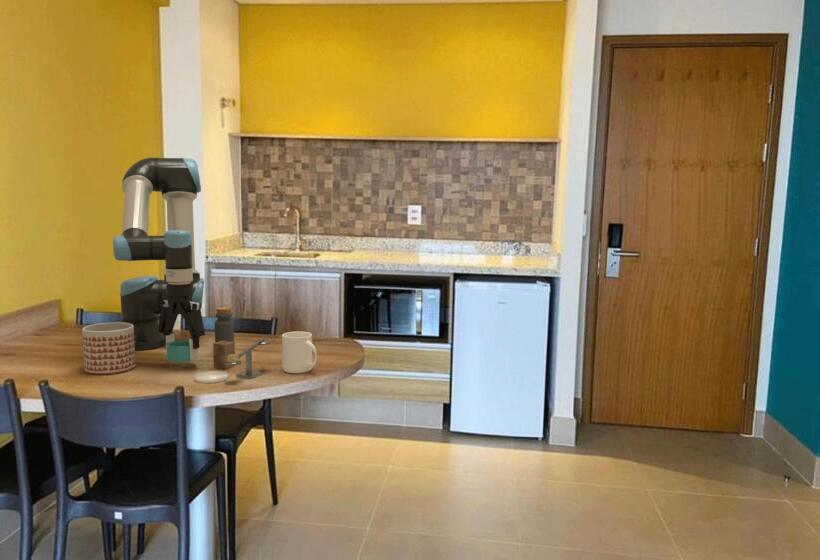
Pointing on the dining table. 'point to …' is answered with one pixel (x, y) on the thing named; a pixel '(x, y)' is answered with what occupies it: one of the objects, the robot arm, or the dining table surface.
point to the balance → (234, 360)
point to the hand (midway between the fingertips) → (182, 357)
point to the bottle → (224, 325)
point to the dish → (211, 377)
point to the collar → (178, 351)
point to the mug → (297, 352)
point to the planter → (108, 348)
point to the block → (222, 353)
